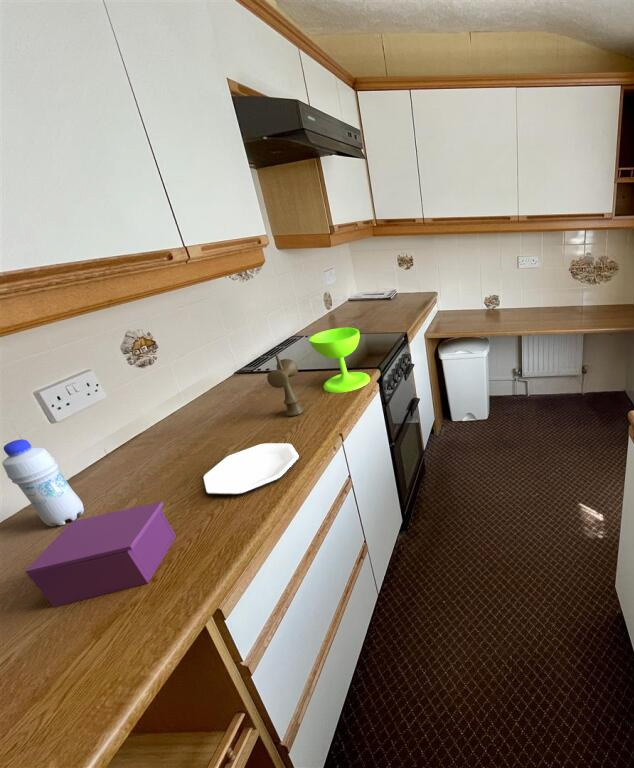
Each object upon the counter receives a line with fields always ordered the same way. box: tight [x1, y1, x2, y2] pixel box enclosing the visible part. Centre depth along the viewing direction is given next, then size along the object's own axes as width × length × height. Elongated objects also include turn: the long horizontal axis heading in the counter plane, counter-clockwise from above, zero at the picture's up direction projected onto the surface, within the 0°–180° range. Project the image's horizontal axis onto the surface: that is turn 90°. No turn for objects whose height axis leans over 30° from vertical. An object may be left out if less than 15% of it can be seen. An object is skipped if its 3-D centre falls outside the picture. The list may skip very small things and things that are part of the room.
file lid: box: [24, 501, 164, 575], centre depth 72 cm, size 14×12×1 cm
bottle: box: [1, 438, 85, 527], centre depth 84 cm, size 7×7×20 cm
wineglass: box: [308, 327, 371, 394], centre depth 141 cm, size 16×16×18 cm
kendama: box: [266, 353, 305, 417], centre depth 122 cm, size 6×10×20 cm, turn 9°
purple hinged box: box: [27, 508, 177, 608], centre depth 73 cm, size 14×12×8 cm
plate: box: [202, 442, 300, 496], centre depth 100 cm, size 20×20×2 cm
